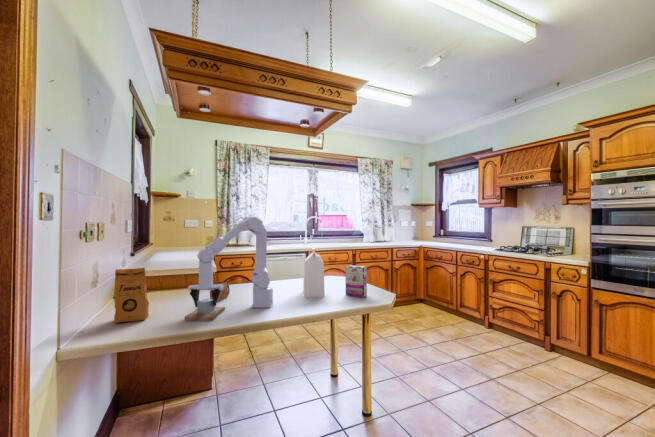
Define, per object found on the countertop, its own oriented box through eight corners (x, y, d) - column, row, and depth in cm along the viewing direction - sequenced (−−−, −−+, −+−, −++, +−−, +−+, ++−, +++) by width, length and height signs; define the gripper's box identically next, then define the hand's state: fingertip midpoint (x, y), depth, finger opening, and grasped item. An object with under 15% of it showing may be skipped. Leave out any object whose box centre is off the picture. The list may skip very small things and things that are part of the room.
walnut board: (225, 310, 135) (225, 306, 135) (212, 320, 121) (212, 317, 121) (199, 310, 135) (199, 306, 135) (184, 320, 121) (184, 317, 121)
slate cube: (214, 310, 130) (214, 299, 130) (206, 314, 125) (206, 302, 125) (205, 309, 131) (205, 298, 131) (197, 312, 127) (197, 301, 127)
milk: (303, 291, 169) (303, 247, 169) (322, 291, 170) (322, 247, 170) (303, 297, 157) (303, 249, 157) (324, 296, 158) (324, 249, 158)
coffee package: (146, 321, 120) (146, 269, 120) (110, 325, 116) (110, 271, 116) (151, 314, 129) (151, 265, 129) (118, 317, 125) (118, 267, 125)
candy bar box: (367, 295, 160) (367, 266, 160) (363, 297, 156) (363, 267, 156) (349, 293, 165) (348, 264, 165) (345, 295, 161) (345, 265, 161)
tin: (214, 304, 145) (214, 287, 145) (208, 304, 145) (208, 287, 145) (230, 296, 159) (230, 281, 159) (224, 296, 160) (224, 281, 160)
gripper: (225, 273, 133) (225, 303, 133) (192, 274, 132) (192, 303, 132) (220, 276, 126) (220, 308, 126) (186, 277, 125) (186, 308, 125)
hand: (205, 306), depth 128 cm, fingers open, 7 cm apart
